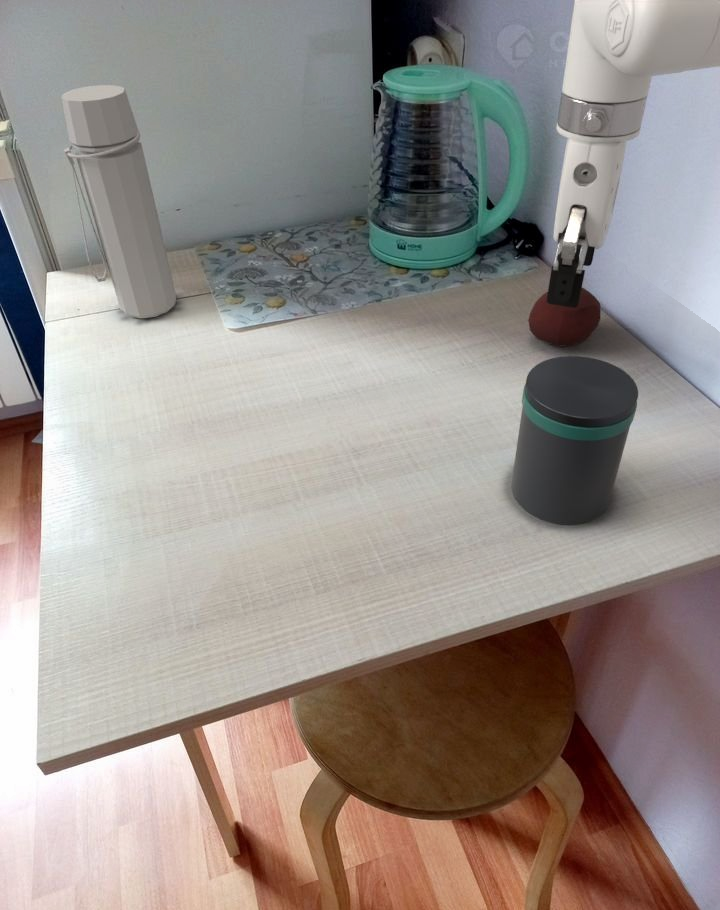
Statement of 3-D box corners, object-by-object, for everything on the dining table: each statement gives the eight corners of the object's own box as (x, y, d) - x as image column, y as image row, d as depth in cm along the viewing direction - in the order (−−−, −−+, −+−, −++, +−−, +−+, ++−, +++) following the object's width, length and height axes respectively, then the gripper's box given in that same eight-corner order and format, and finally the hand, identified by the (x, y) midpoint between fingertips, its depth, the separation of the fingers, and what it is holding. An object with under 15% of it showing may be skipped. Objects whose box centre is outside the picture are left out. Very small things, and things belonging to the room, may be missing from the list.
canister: (616, 470, 64) (644, 365, 56) (604, 536, 58) (634, 429, 50) (521, 449, 66) (536, 347, 59) (500, 511, 60) (514, 405, 53)
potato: (611, 349, 79) (623, 300, 75) (545, 363, 77) (553, 314, 73) (576, 317, 84) (585, 271, 80) (514, 330, 82) (519, 283, 78)
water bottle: (170, 287, 94) (122, 80, 78) (185, 313, 88) (137, 96, 72) (100, 304, 91) (34, 92, 75) (111, 332, 86) (43, 110, 69)
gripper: (633, 148, 58) (594, 329, 69) (650, 91, 70) (615, 253, 81) (541, 139, 60) (518, 316, 71) (573, 86, 72) (549, 245, 83)
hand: (569, 283), depth 76 cm, fingers open, 9 cm apart
